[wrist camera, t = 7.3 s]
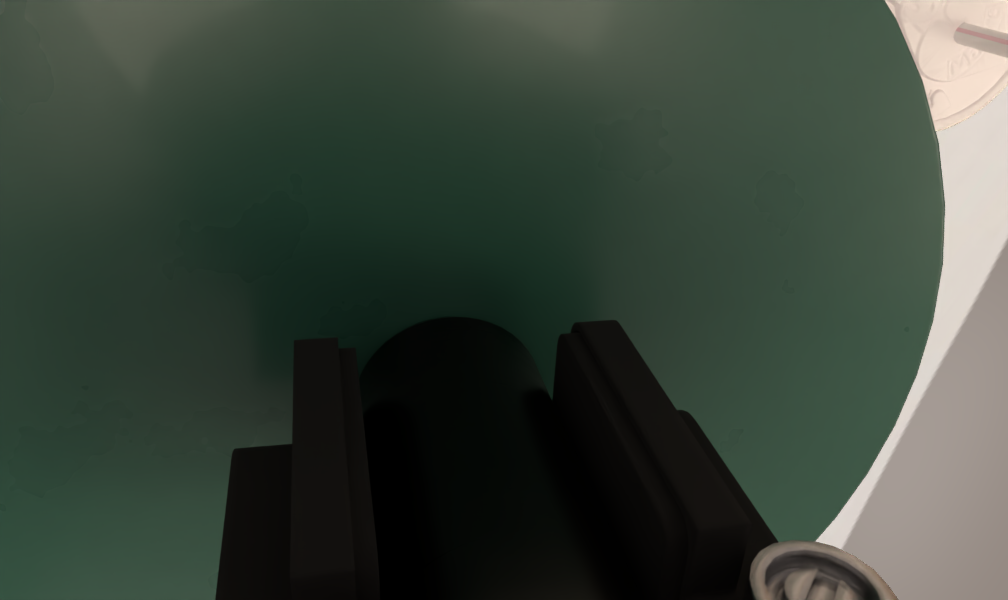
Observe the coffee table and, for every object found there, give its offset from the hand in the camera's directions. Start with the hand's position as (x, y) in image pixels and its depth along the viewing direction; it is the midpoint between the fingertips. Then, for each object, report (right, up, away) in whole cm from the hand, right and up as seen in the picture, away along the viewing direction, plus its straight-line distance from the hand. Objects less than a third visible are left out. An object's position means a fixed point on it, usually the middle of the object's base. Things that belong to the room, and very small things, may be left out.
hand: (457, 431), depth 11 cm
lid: (0, +1, +1) cm, 1 cm away
